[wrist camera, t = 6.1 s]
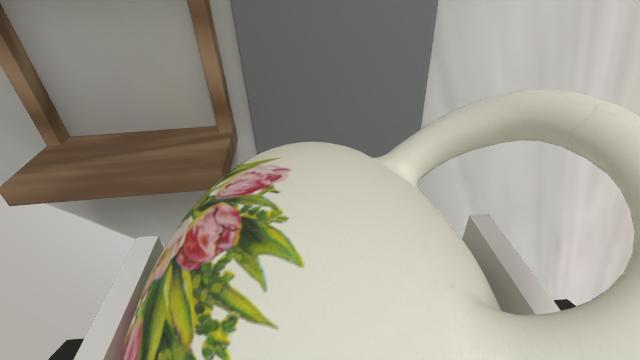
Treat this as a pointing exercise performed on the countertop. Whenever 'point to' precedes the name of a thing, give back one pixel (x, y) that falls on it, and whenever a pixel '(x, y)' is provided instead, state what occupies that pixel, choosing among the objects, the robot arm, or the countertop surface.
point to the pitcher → (378, 253)
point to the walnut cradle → (119, 138)
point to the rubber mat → (335, 70)
